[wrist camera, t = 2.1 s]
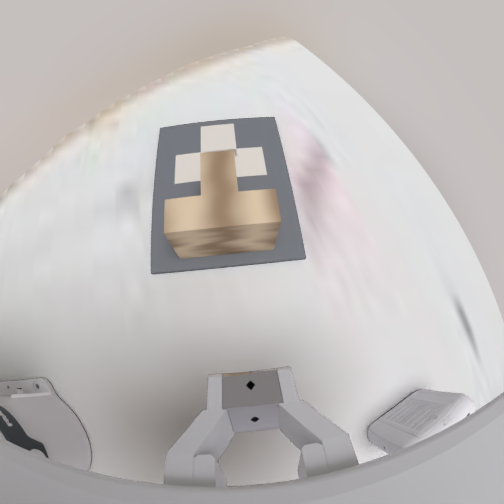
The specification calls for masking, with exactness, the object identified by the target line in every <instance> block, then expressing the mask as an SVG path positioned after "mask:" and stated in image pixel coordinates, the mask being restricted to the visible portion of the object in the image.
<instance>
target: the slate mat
mask: <svg viewBox="0 0 504 504" xmlns="http://www.w3.org/2000/svg"><path fill="white" fill-rule="evenodd" d="M228 150H234V157H235V166H236V175H237V184H238V192H239V191H251V190H263V189H276V194H277V200H278V205H279V210H280V216H281V225H280V229H279V232H278V236H277V240H276V243H275V247H274V250H266V251H256V252H246V253H236V254H226V255H215V256H205V257H195V258H185V259H180V258H179V256H178V255H177V253H176V252H175V250H174V249H173V247H172V245H171V244H170V242H169V241H168V239H167V237H166V236H165V234H164V207H165V200H167V199H174V198H182V197H191V196H199V195H201V179H200V153H208V152H217V151H228ZM305 258H306V255H305V250H304V244H303V239H302V234H301V229H300V224H299V219H298V215H297V210H296V205H295V200H294V196H293V191H292V187H291V182H290V178H289V174H288V169H287V165H286V161H285V157H284V153H283V148H282V144H281V140H280V136H279V133H278V129H277V125H276V121H275V117H258V118H241V119H228V120H217V121H207V122H198V123H190V124H183V125H176V126H170V127H164V128H160V133H159V141H158V150H157V159H156V169H155V180H154V193H153V208H152V230H151V274H161V273H172V272H182V271H193V270H204V269H214V268H224V267H234V266H244V265H254V264H264V263H273V262H283V261H292V260H301V259H305Z"/></svg>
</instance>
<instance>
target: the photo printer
mask: <svg viewBox="0 0 504 504" xmlns="http://www.w3.org/2000/svg"><path fill="white" fill-rule="evenodd" d="M473 412H475V407H474V402H473V400H472V399H471V398H470V397H468V396H467V395H465V394H461V393H450V392H440V391H431V390H424V389H420V390H417V391H416V392H414V393H413V394H411V395H410V396H409V397H407V398H406V399H405V400H403V401H402V402H401V403H399V404H398V405H397V406H395V407H394V408H393V409H391V410H390V411H389V412H387V413H386V414H385V415H383V416H382V417H380V418H379V419H378V420H376V421H375V422H374V423H373V424H371V425H370V426H369V427H368V429H369V430H368V433H367V436H368V439H369V441H370V442H371V443H373V444H374V445H376V446H377V447H378V448H380V449H381V450H383V451H384V452H386V453H388V454H391V453H393V452H396V451H399V450H401V449H403V448H406V447H408V446H411V445H413V444H415V443H417V442H420V441H422V440H424V439H426V438H428V437H430V436H432V435H434V434H436V433H438V432H440V431H442V430H444V429H446V428H448V427H450V426H451V425H453V424H455V423H457V422H458V421H460V420H462V419H464V418H465V417H467V416H469V415H470V414H472V413H473Z"/></svg>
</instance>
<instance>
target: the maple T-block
mask: <svg viewBox="0 0 504 504" xmlns="http://www.w3.org/2000/svg"><path fill="white" fill-rule="evenodd" d="M200 179H201V195H199V196H191V197H182V198H174V199H167V200H165V207H164V234H165V236H166V237H167V239H168V241H169V242H170V244H171V245H172V247H173V249H174V250H175V252H176V253H177V255H178V256H179V258H180V259H185V258H195V257H205V256H215V255H226V254H236V253H246V252H256V251H266V250H274V247H275V243H276V240H277V236H278V232H279V229H280V225H281V216H280V210H279V205H278V200H277V194H276V189H263V190H251V191H239V192H238V184H237V175H236V166H235V157H234V150H228V151H217V152H208V153H200Z"/></svg>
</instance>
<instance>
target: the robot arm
mask: <svg viewBox="0 0 504 504" xmlns="http://www.w3.org/2000/svg"><path fill="white" fill-rule="evenodd" d="M38 385H39V387H38ZM278 428H279V429H280V430H281V431H282V432H283V433H284V434H285V436H286V437H287V438H288V439H289V440H290V441H291V442H292V443H293V444H294V445H295V446H296V447H297V448H298V449H299V450H300V451H301V455H300V461H299V466H298V476H299V479H295V480H289V481H282V482H275V483H267V484H257V485H244V486H227V479H226V477H225V475H224V473H223V472H222V470H221V468H220V466H219V465H218V463H217V462H218V460H219V458H220V457H221V455H222V454H223V452H224V450H225V449H226V447H227V446H228V444H229V442H230V441H231V439H232V437H233V436H234V433H240V432H249V431H258V430H269V429H278ZM90 465H91V448H90V444H89V440H88V437H87V435H86V432H85V430H84V428H83V426H82V425H81V423H80V421H79V420H78V418H77V417H76V415H75V414H74V413H73V411H72V410H71V409H70V408H69V407H68V406H67V405H66V404H65V403H64V402H63V401H62V400H61V399H60V398H59V397H58V396H57V395H56V393H55V391H54V389H53V387H52V385H51V384H50V382H49V381H48V380H47V379H46V378H36V379H26V380H16V381H3V382H0V504H504V392H503V393H501V394H500V395H499V396H497V397H496V398H494V399H493V400H492V401H490V402H489V403H487V404H486V405H484V406H483V407H481V408H480V409H478V410H477V411H475V412H473V413H472V414H470V415H469V416H467V417H465V418H464V419H462V420H460V421H458V422H457V423H455V424H453V425H451V426H450V427H448V428H446V429H444V430H442V431H440V432H438V433H436V434H434V435H432V436H430V437H428V438H426V439H424V440H422V441H420V442H417V443H415V444H413V445H411V446H408V447H406V448H403V449H401V450H399V451H396V452H393V453H391V454H388V455H386V456H383V457H380V458H377V459H374V460H371V461H368V462H365V463H362V464H359V463H358V460H357V457H356V454H355V451H354V449H353V446H352V443H351V440H350V437H349V434H347V433H346V432H345V431H343V430H342V429H341V428H339V427H338V426H337V425H335V424H334V423H333V422H331V421H330V420H329V419H327V418H326V417H325V416H323V415H322V414H321V413H319V412H318V411H317V410H316V409H314V408H313V407H312V406H310V405H309V404H308V403H307V402H305V401H304V400H299V397H298V393H297V389H296V385H295V381H294V377H293V374H292V370H291V367H290V366H287V367H281V368H272V369H265V370H257V371H249V372H241V373H225V374H209V376H208V385H207V410H202V412H201V413H200V414H199V415H198V417H197V418H196V419H195V420H194V421H193V423H192V424H191V425H190V426H189V427H188V429H187V430H186V431H185V432H184V433H183V434H182V436H181V437H180V438H179V439H178V440H177V441H176V443H175V444H174V445H173V446H172V447H171V448H170V449H169V451H168V452H167V455H166V464H165V475H164V484H155V483H147V482H140V481H133V480H127V479H122V478H117V477H112V476H107V475H103V474H98V473H94V472H90V471H88V470H89V468H90Z"/></svg>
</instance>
